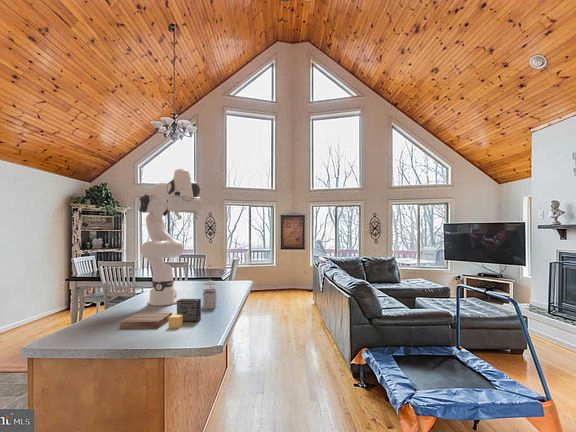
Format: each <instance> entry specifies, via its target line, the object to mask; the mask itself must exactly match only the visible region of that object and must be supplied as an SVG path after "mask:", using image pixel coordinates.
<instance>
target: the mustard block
mask: <svg viewBox="0 0 576 432" xmlns="http://www.w3.org/2000/svg"><path fill="white" fill-rule="evenodd" d="M183 324H184V322H183V315H177V314H172V315H171V316H170V317H169V321H168V326H167V327H168V329H179V328H182V326H183Z"/></svg>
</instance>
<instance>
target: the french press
mask: <svg viewBox="0 0 576 432" xmlns="http://www.w3.org/2000/svg"><path fill="white" fill-rule="evenodd" d="M207 267H212V264H210V263H209V264H208V266H207ZM216 284H217V282H216V281H214V280H211V279H209V280H205V281H204V282H203V283H202V285H204V286H210V288H206V289H203V291H204V292H203V293H202V298H203V299H202V305H201V308H202V309H213V308H217V307H219V306H218V304H217V291H216V290H217V289H216V288H215V286H213V287H212V285H216Z"/></svg>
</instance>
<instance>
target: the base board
mask: <svg viewBox="0 0 576 432" xmlns="http://www.w3.org/2000/svg"><path fill="white" fill-rule="evenodd" d="M171 315H173V312H135V314H134V313H133V314H132V315H130V316H128V317H127V318H124V319H123V320H121V321H120V320H119V321H120V322H119V329H159V328H162V326H164V325H165V324H167V323H169V317H170V316H171Z"/></svg>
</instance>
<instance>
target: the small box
mask: <svg viewBox="0 0 576 432" xmlns="http://www.w3.org/2000/svg"><path fill="white" fill-rule="evenodd" d="M201 308H202V300H201V298H180V300H178V301H177V304H176V315H183V323H197V322H199V321H200V320H201V319H202V315H201V314H202V309H201Z"/></svg>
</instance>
